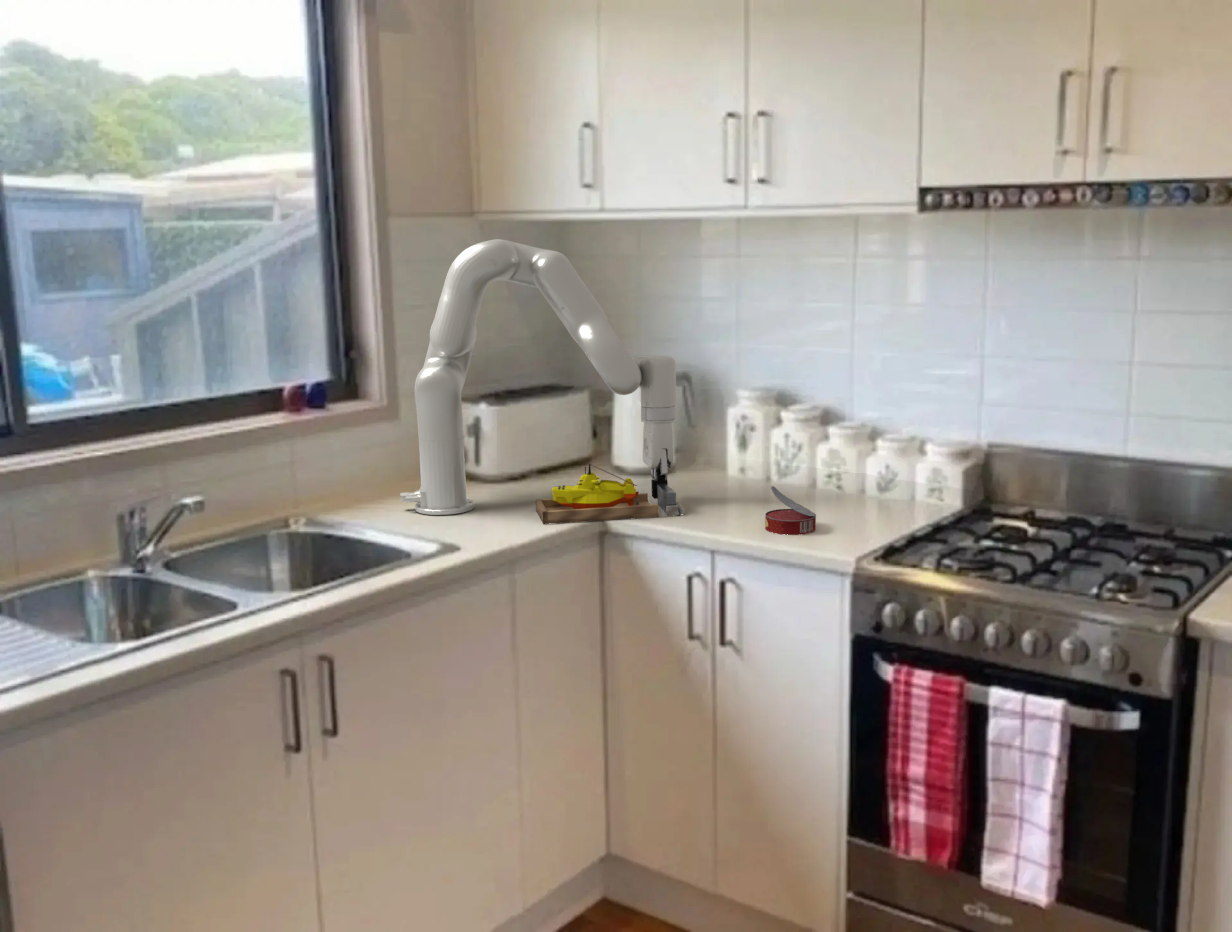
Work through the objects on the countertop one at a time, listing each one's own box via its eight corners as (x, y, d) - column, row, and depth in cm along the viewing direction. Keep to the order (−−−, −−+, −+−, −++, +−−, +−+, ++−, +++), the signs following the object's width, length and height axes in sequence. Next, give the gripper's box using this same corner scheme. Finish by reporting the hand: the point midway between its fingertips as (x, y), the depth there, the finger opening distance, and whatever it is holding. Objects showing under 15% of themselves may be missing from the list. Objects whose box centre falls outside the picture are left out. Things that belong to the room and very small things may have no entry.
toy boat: (639, 512, 249) (638, 465, 248) (552, 514, 249) (550, 467, 247) (638, 505, 256) (637, 459, 254) (553, 507, 256) (551, 461, 254)
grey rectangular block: (666, 514, 251) (666, 493, 250) (657, 504, 259) (657, 484, 258) (676, 513, 251) (676, 492, 250) (666, 504, 260) (666, 483, 259)
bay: (543, 524, 245) (542, 512, 244) (531, 502, 265) (531, 491, 264) (684, 515, 250) (684, 503, 249) (663, 494, 270) (663, 483, 269)
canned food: (780, 545, 243) (791, 498, 245) (821, 548, 236) (832, 500, 238) (747, 529, 236) (758, 480, 238) (788, 531, 228) (799, 481, 231)
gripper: (634, 409, 265) (635, 491, 268) (648, 420, 250) (650, 506, 254) (667, 408, 266) (668, 489, 269) (684, 418, 251) (684, 504, 255)
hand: (659, 497), depth 262 cm, fingers closed
